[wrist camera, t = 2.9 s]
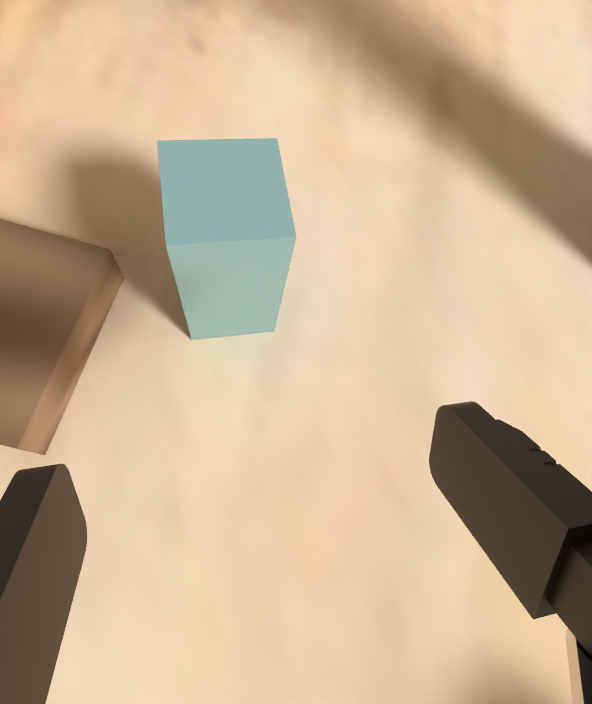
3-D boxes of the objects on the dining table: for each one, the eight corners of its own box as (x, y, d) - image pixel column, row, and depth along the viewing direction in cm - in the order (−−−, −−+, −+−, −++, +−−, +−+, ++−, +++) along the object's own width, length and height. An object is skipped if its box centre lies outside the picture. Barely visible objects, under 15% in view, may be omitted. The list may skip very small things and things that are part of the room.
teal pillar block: (184, 266, 26) (157, 140, 17) (262, 261, 27) (277, 138, 18) (191, 340, 25) (165, 245, 16) (274, 331, 26) (296, 237, 17)
